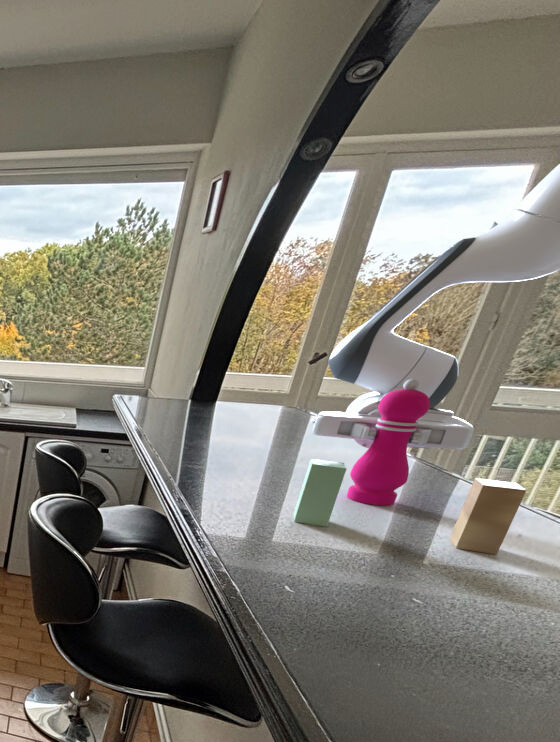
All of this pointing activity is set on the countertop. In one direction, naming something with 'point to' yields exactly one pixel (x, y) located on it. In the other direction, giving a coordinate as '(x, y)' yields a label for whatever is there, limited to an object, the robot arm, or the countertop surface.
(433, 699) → the countertop surface
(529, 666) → the countertop surface
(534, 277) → the robot arm
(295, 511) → the sage block
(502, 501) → the maple block
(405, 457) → the pepper mill
